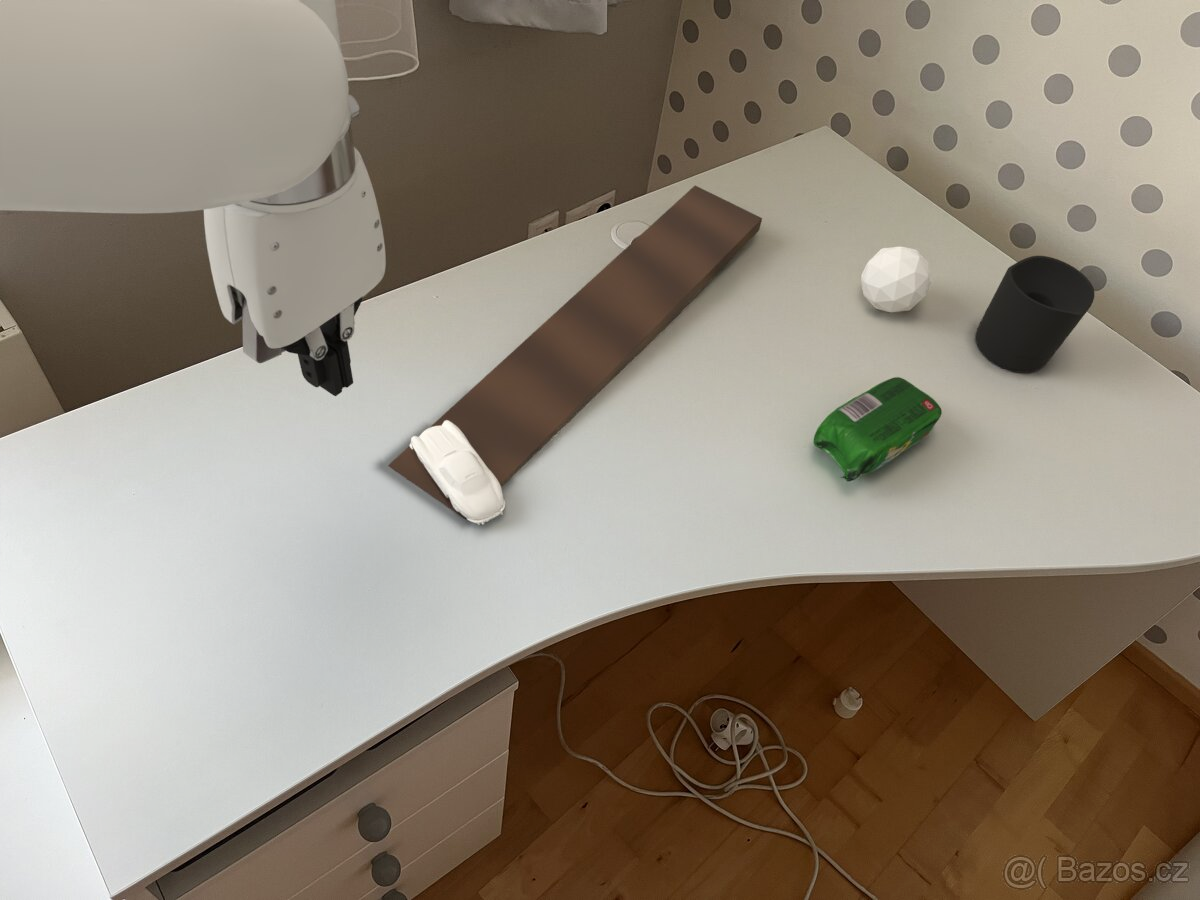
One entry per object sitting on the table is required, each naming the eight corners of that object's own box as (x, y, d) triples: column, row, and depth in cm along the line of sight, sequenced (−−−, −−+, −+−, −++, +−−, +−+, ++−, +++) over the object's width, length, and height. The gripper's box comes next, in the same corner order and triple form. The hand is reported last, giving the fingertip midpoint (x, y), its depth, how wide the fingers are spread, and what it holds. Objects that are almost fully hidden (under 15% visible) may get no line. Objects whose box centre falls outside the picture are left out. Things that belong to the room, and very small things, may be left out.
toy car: (451, 426, 89) (448, 405, 86) (515, 511, 84) (514, 491, 81) (407, 448, 87) (403, 426, 85) (470, 536, 82) (468, 516, 79)
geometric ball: (878, 309, 112) (918, 253, 109) (914, 333, 105) (957, 275, 103) (836, 283, 108) (876, 225, 106) (871, 307, 102) (914, 246, 99)
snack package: (792, 453, 92) (807, 420, 88) (891, 392, 99) (908, 359, 95) (843, 500, 89) (860, 468, 85) (941, 434, 96) (961, 401, 92)
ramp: (465, 533, 84) (464, 500, 80) (387, 479, 88) (382, 444, 83) (753, 252, 116) (763, 217, 111) (688, 219, 119) (695, 184, 114)
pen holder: (1060, 380, 103) (1106, 316, 95) (980, 372, 102) (1020, 307, 95) (1038, 324, 109) (1080, 259, 101) (962, 316, 108) (999, 250, 101)
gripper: (335, 74, 54) (367, 303, 68) (118, 180, 46) (205, 415, 60) (428, 123, 52) (441, 349, 66) (217, 243, 44) (284, 472, 58)
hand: (329, 380), depth 63 cm, fingers closed
